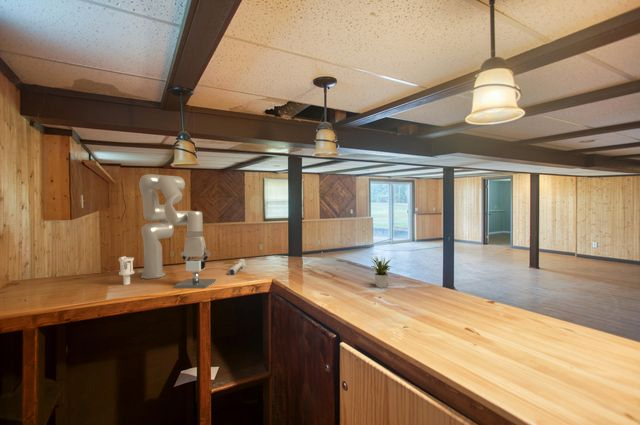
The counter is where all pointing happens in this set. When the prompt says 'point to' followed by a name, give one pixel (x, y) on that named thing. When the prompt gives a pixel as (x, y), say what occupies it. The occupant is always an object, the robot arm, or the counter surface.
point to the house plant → (381, 272)
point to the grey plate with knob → (195, 282)
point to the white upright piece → (126, 268)
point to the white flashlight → (237, 267)
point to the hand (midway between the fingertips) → (195, 268)
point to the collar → (193, 265)
